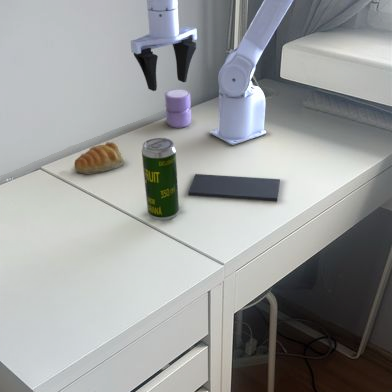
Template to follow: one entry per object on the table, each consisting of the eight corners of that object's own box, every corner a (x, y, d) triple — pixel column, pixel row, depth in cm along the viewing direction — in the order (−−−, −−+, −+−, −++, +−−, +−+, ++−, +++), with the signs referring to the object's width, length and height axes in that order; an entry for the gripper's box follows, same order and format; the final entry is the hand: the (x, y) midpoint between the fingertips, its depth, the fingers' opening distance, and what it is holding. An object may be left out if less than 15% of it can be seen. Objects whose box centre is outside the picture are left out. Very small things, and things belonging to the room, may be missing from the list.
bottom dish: (182, 117, 117) (181, 102, 115) (196, 124, 114) (195, 109, 112) (161, 123, 115) (160, 108, 113) (175, 130, 112) (174, 115, 109)
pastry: (86, 180, 96) (82, 160, 94) (69, 168, 100) (64, 149, 97) (127, 165, 100) (124, 146, 98) (109, 154, 104) (106, 136, 101)
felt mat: (188, 195, 91) (187, 192, 91) (195, 176, 96) (195, 173, 96) (277, 201, 89) (277, 198, 88) (279, 182, 94) (280, 179, 93)
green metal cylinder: (162, 202, 90) (157, 134, 81) (185, 211, 87) (182, 142, 79) (141, 214, 87) (133, 145, 78) (164, 225, 84) (158, 154, 76)
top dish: (181, 102, 115) (180, 87, 113) (195, 109, 112) (195, 93, 109) (160, 108, 113) (159, 92, 110) (174, 115, 109) (173, 99, 107)
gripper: (180, -2, 100) (183, 72, 110) (118, 10, 94) (127, 88, 104) (202, 4, 96) (203, 80, 106) (139, 17, 90) (146, 97, 100)
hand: (167, 85), depth 105 cm, fingers open, 7 cm apart
